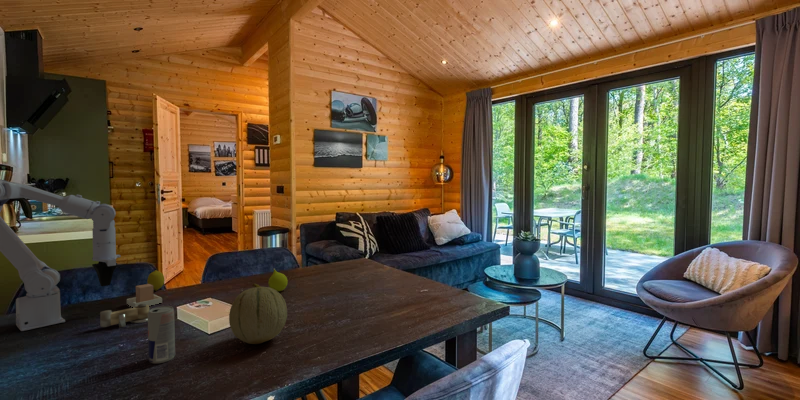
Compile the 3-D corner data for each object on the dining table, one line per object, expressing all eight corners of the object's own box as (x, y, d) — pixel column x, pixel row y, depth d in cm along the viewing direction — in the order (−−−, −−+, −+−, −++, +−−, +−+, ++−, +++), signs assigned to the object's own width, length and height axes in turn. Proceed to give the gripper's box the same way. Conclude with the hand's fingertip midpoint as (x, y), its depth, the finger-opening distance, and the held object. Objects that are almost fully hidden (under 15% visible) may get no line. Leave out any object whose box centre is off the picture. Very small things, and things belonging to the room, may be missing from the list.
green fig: (268, 289, 150) (268, 264, 149) (287, 288, 152) (287, 263, 151) (268, 294, 143) (268, 268, 142) (287, 293, 145) (287, 267, 145)
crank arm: (147, 314, 118) (146, 301, 118) (151, 316, 116) (151, 303, 116) (98, 325, 109) (98, 311, 109) (102, 328, 107) (101, 314, 107)
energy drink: (156, 354, 93) (155, 305, 92) (179, 353, 93) (178, 305, 93) (143, 364, 88) (142, 313, 87) (167, 363, 88) (166, 312, 87)
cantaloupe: (252, 359, 91) (252, 297, 90) (216, 344, 98) (215, 287, 98) (299, 337, 103) (299, 283, 103) (264, 326, 111) (263, 276, 110)
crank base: (120, 328, 109) (120, 315, 109) (113, 323, 113) (113, 311, 112) (157, 319, 117) (157, 307, 116) (149, 314, 120) (149, 303, 120)
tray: (135, 309, 125) (135, 303, 125) (126, 304, 130) (126, 299, 130) (162, 303, 131) (162, 297, 131) (153, 299, 136) (152, 293, 136)
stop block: (140, 305, 128) (139, 288, 127) (136, 303, 130) (135, 286, 130) (153, 302, 131) (153, 285, 131) (149, 300, 133) (148, 283, 133)
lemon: (167, 288, 149) (167, 268, 149) (157, 293, 144) (157, 272, 143) (154, 288, 150) (154, 268, 149) (144, 292, 144) (143, 271, 144)
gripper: (127, 243, 118) (128, 286, 119) (112, 239, 127) (113, 279, 128) (99, 246, 112) (100, 291, 113) (85, 241, 121) (86, 283, 122)
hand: (105, 285), depth 120 cm, fingers closed
